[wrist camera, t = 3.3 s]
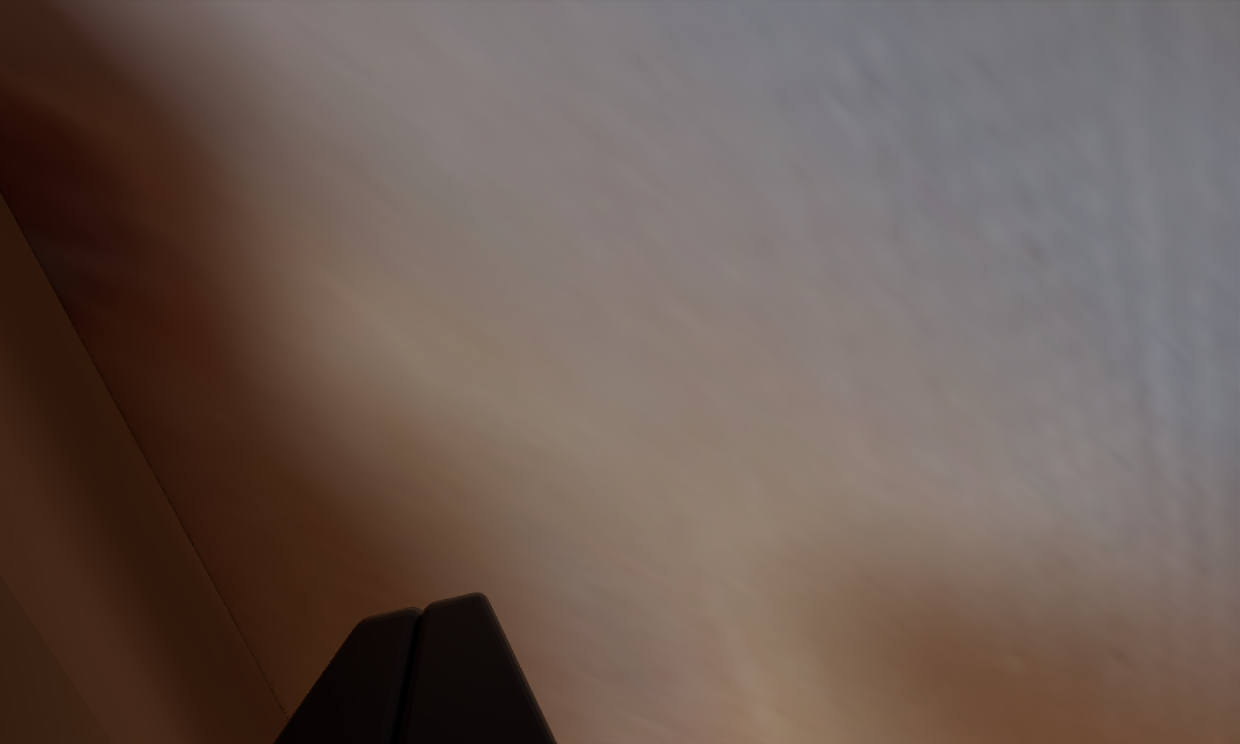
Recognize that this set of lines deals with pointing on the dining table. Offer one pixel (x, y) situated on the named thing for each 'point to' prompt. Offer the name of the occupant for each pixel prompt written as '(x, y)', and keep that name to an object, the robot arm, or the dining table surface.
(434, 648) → the robot arm
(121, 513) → the walnut box
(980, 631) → the dining table surface
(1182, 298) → the dining table surface
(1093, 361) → the dining table surface
